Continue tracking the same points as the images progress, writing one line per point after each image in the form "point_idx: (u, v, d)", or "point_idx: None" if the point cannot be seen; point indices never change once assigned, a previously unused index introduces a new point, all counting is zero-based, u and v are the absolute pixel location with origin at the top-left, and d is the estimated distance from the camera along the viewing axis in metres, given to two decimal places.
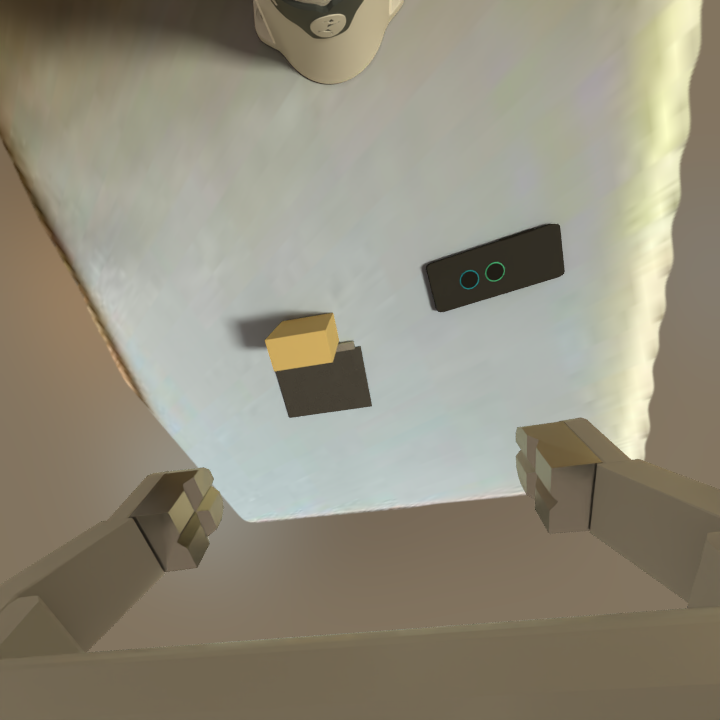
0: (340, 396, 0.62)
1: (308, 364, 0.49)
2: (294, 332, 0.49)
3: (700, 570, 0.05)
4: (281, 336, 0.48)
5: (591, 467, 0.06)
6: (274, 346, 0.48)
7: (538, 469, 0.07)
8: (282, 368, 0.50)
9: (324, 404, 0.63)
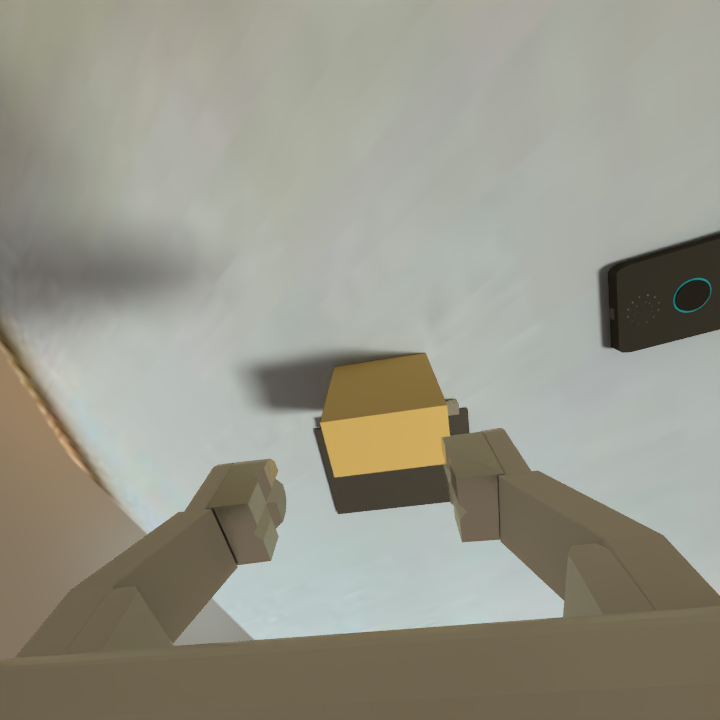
0: (424, 484, 0.38)
1: (403, 466, 0.25)
2: (376, 404, 0.25)
3: (567, 581, 0.05)
4: (353, 414, 0.24)
5: (494, 478, 0.07)
6: (339, 434, 0.24)
7: (452, 479, 0.07)
8: (351, 472, 0.25)
9: (396, 495, 0.39)
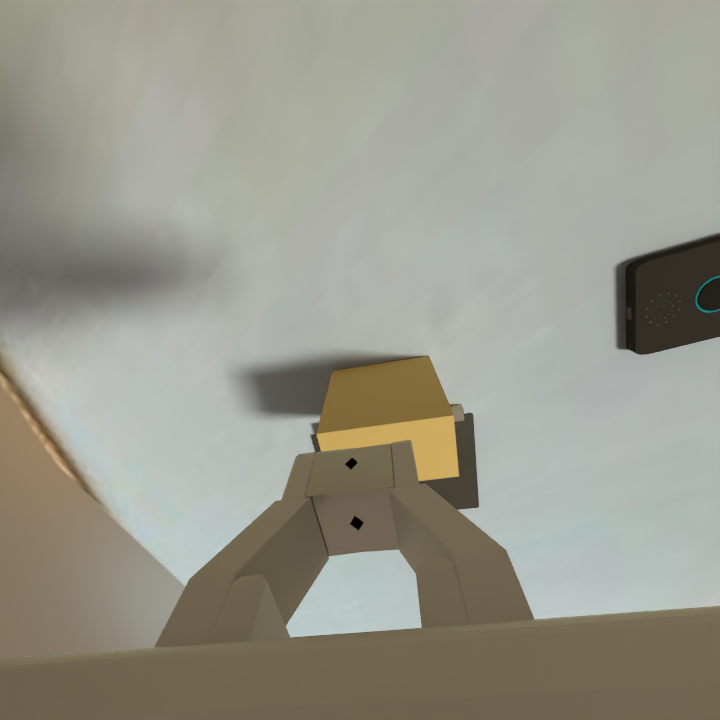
0: None
1: None
2: (377, 413, 0.23)
3: None
4: (351, 424, 0.22)
5: (385, 491, 0.07)
6: (337, 446, 0.22)
7: None
8: None
9: None
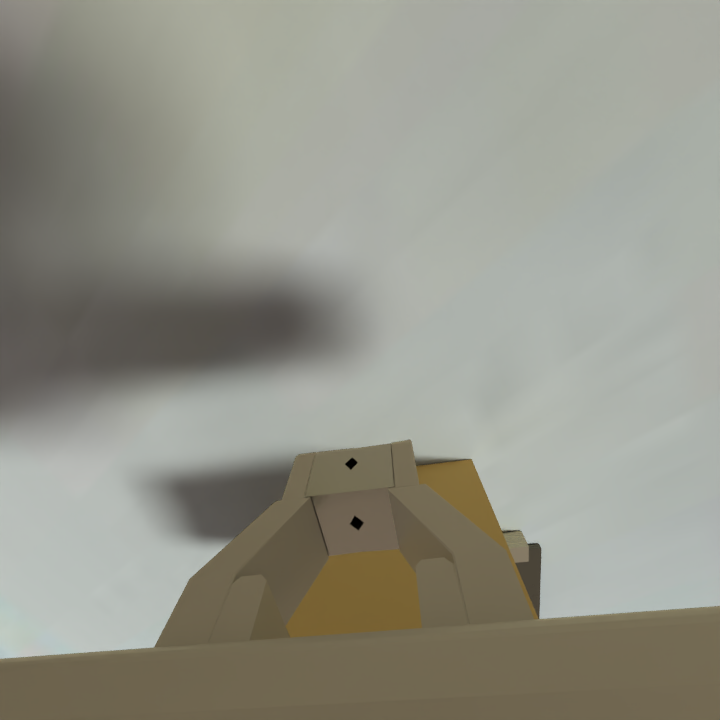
0: None
1: None
2: None
3: None
4: None
5: (385, 491, 0.07)
6: None
7: None
8: None
9: None
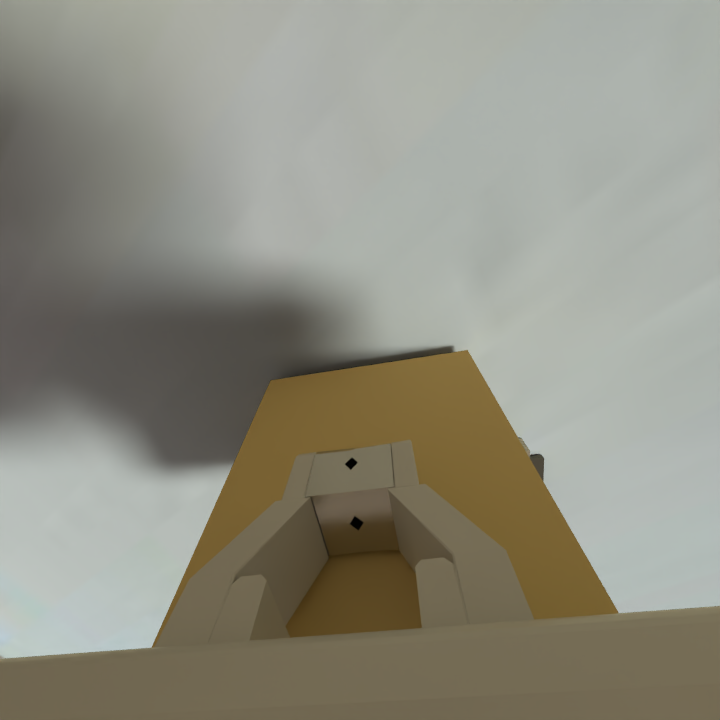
0: None
1: None
2: (351, 556, 0.08)
3: None
4: None
5: (385, 491, 0.07)
6: None
7: None
8: None
9: None
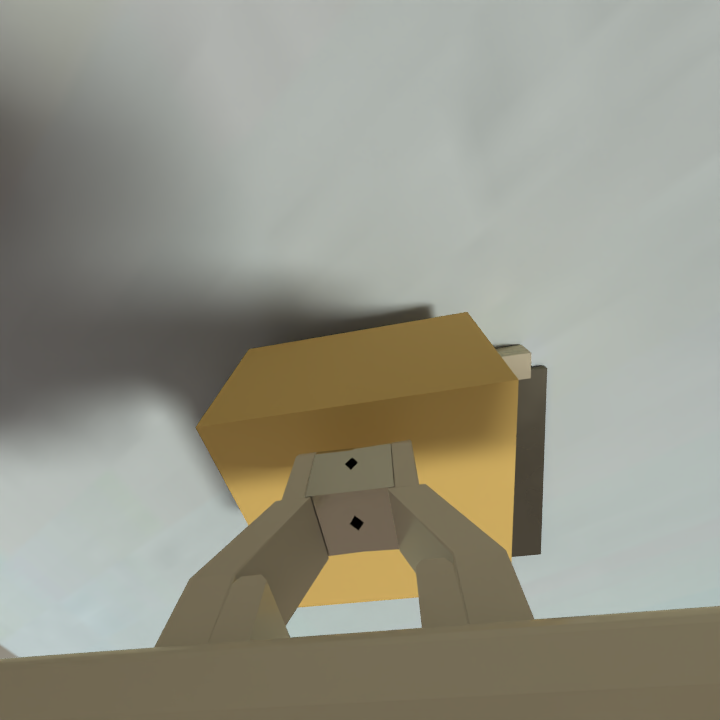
0: None
1: None
2: (383, 579, 0.13)
3: None
4: (345, 596, 0.14)
5: (385, 491, 0.07)
6: None
7: None
8: None
9: None
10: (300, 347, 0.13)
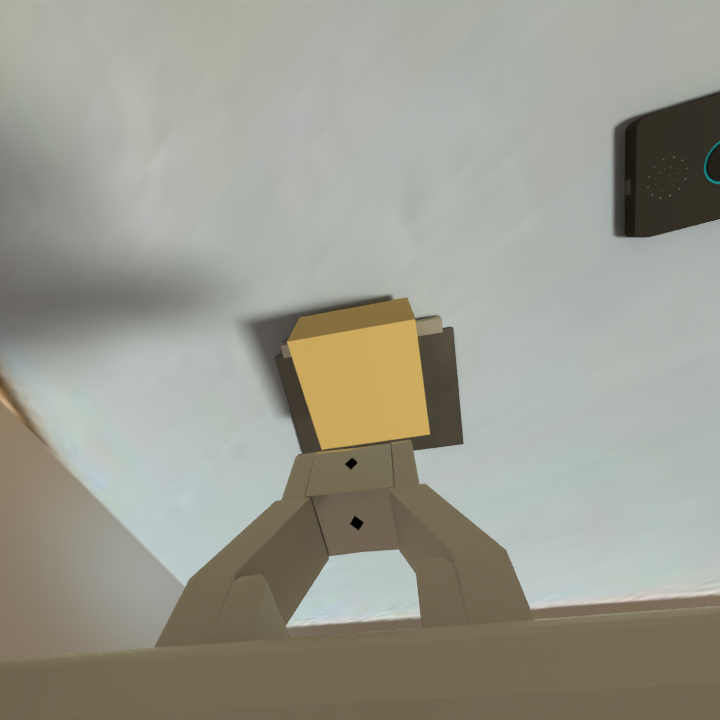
0: None
1: None
2: (367, 428, 0.27)
3: None
4: (348, 441, 0.27)
5: (385, 491, 0.07)
6: None
7: None
8: None
9: None
10: (326, 315, 0.27)
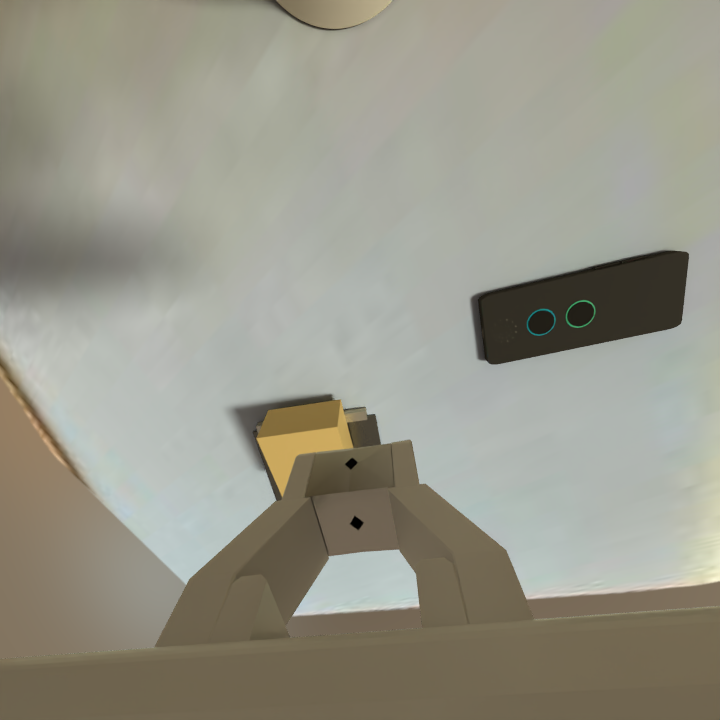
0: None
1: None
2: None
3: None
4: None
5: (385, 491, 0.07)
6: None
7: None
8: None
9: None
10: (285, 411, 0.40)
